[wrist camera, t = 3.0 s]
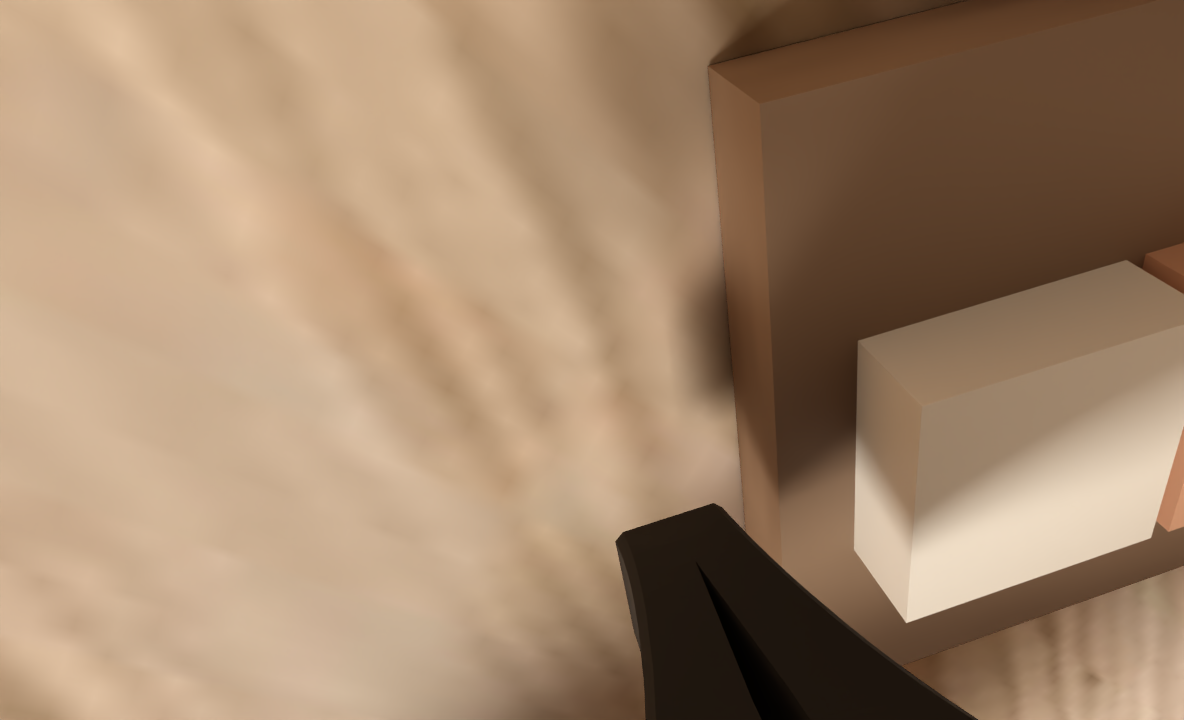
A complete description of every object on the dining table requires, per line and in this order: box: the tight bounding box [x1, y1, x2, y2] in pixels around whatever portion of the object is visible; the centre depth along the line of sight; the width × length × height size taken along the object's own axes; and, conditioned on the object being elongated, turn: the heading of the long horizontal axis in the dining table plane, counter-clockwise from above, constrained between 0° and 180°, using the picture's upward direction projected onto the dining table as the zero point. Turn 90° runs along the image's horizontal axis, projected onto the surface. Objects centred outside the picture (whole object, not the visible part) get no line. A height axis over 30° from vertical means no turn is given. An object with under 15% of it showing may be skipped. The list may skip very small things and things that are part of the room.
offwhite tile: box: [854, 260, 1184, 623], centre depth 13 cm, size 4×4×2 cm
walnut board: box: [708, 0, 1184, 666], centre depth 14 cm, size 11×10×2 cm
